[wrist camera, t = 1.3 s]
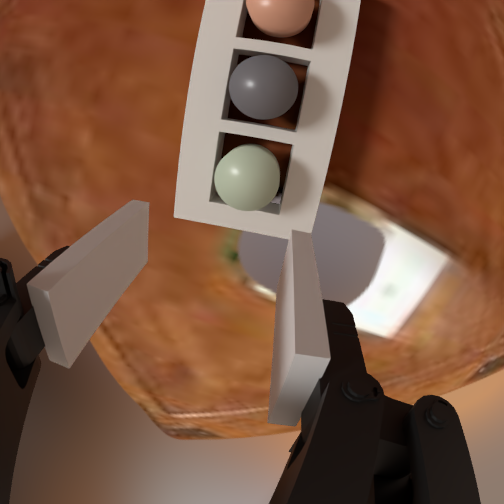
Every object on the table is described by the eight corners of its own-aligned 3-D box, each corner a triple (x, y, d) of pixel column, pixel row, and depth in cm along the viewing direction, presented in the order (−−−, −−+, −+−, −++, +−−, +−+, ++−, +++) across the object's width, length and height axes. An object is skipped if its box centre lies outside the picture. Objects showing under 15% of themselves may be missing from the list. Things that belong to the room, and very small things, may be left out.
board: (223, -31, 19) (216, -44, 16) (356, -10, 19) (363, -21, 16) (183, 206, 30) (173, 217, 27) (306, 230, 30) (308, 243, 27)
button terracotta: (255, -16, 18) (252, -29, 15) (315, -6, 18) (318, -19, 15) (245, 32, 20) (240, 23, 17) (306, 42, 20) (308, 34, 17)
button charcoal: (240, 57, 21) (235, 50, 18) (301, 67, 21) (303, 61, 18) (230, 113, 23) (223, 113, 21) (290, 123, 23) (291, 125, 20)
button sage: (226, 139, 24) (219, 143, 22) (285, 149, 24) (285, 154, 21) (218, 194, 26) (210, 204, 24) (273, 204, 26) (272, 216, 24)
